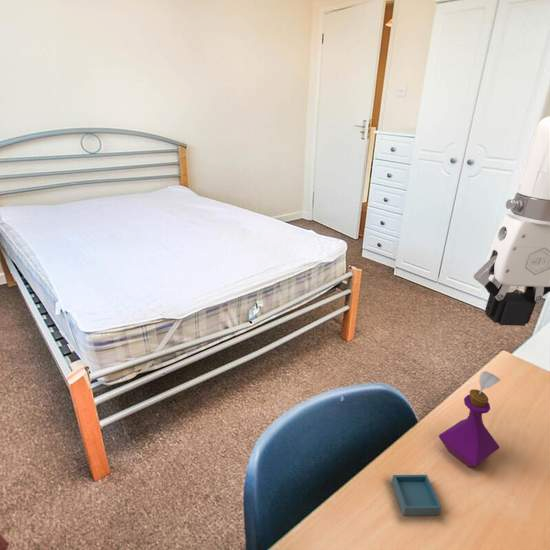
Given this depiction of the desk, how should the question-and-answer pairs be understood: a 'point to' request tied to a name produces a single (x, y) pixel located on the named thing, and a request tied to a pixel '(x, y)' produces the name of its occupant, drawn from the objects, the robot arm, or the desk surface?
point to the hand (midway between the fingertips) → (506, 317)
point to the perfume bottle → (472, 428)
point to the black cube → (515, 310)
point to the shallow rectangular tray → (415, 495)
